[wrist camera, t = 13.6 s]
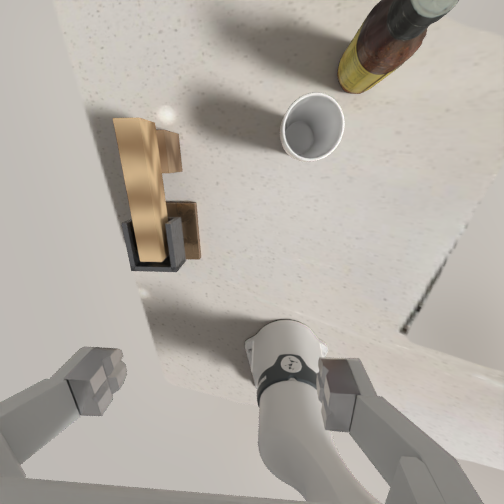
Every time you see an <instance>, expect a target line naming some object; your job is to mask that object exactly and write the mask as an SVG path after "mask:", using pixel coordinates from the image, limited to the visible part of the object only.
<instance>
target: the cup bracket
mask: <svg viewBox="0 0 504 504" xmlns="http://www.w3.org/2000/svg"><path fill="white" fill-rule="evenodd" d="M166 208H167V215H168V222H167V223H166V224H165V226H166V233H167V240H168V248H169V255H168V256H167V257H166V258H165V259H164V260H163V261H162V262H140V258H139V253H138V248H137V242H136V237H135V232H134V227H133V222H132V219H130V220H128V221H126V222H123V223H122V228H123V233H124V238H125V243H126V247H127V252H128V257H129V262H130V266H131V271H156V272H177V271H178V270H179V269H180V267H181V266H182V265H183V264H184V263H185V261H186V259H200V258H201V250H200V238H199V227H198V216H197V205H196V203H191V202H166Z"/></svg>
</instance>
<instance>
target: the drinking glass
mask: <svg viewBox="0 0 504 504" xmlns="http://www.w3.org/2000/svg"><path fill="white" fill-rule="evenodd" d="M343 132H344V115H343V112H342V109H341V107H340V105H339V104H338V103H337V101H336V100H335V99H334V98H332V97H331V96H329V95H327V94H324V93H320V92H313V93H308V94H305V95H303V96H301V97H299V98H298V99H297V100H295V101H294V102H293V103H292V104H291V106H290V107H289V108H288V110H287V111H286V113H285V115H284V117H283V120H282V123H281V127H280V140H281V144H282V146H283V148H284V150H285V152H286V153H287V154H288V155H289V156H290V157H292V158H294V159H296V160H298V161H303V162H311V161H316V160H320V159H322V158H324V157H326V156H328V155H329V154H330V153H331V152H333V150H334V149H335V148H336V147H337V146H338V144H339V142H340V140H341V138H342V135H343Z"/></svg>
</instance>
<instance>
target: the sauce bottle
mask: <svg viewBox="0 0 504 504" xmlns="http://www.w3.org/2000/svg"><path fill="white" fill-rule="evenodd" d="M458 1H459V0H381V1H380V2H379V3H378V4H377V5H376V6H375V7H374V8H373V9H372V10H371V12H370V13H369V15H368V16H367V18H366V19H365V21H364V22H363V24H362V26H361V27H360V29H359V30H358V32H357V33H356V35H355V37H354V38H353V40H352V41H351V43H350V44H349V46H348V48H347V49H346V51H345V52H344V54H343V56H342V58H341V60H340V63H339V68H338V74H337V76H338V80H339V83H340V85H341V87H342V88H343V90H344V91H346V92H348V93H353V94H360V93H362V92H364V91H367V90H369V89H370V88H372V87H373V86H374V85H376V84H377V83H379V82H380V81H381V80H383V79H384V78H385V77H387V76H388V75H389V74H391V73H392V72H393V71H395V70H396V69H397V68H399V67H400V66H401V65H402V64H403V63H404V62H405V61H406V60H408V59H409V58H410V57H411V56H412V55H413V54H414V53H415V52H416V51H417V50H418V48H419V47H420V46H421V44H422V41H423V39H424V37H425V36H426V32H427V28H428V26H429V25H430V24H432V23H434V22H436V21H438V20H439V19H441V18H442V17H443V16H444V15H446V14H447V13H448V12H449V11H450V10H451V9H452V8H453V7H454V6H455V5H456V4H457V2H458Z"/></svg>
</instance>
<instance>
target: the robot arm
mask: <svg viewBox="0 0 504 504" xmlns="http://www.w3.org/2000/svg"><path fill="white" fill-rule="evenodd" d="M245 350H246V353H247V357H248V361H249V364H250V368H251V372H252V376H253V379H254V383H255V387H256V389H257V402H258V406H259V430H258V447H259V453H260V456H261V458H262V460H263V462H264V464H265V465H266V467H267V468H268V469H269V470H270V472H272V473H273V474H274V475H275V476H276V477H277V478H278V479H280V480H281V481H283V482H285V483H286V484H288V485H290V486H292V487H293V488H295V489H296V490H297V491H298V492H299V493H300V494H301V495H302V496H303V497H304V498H305V500H306V501H305V502H304V501H294V500H282V499H269V498H258V497H246V496H233V495H222V494H210V493H197V492H186V491H174V490H162V489H150V488H138V487H125V486H113V485H101V484H89V483H77V482H65V481H52V480H41V479H28V478H25V477H26V476H25V473H24V471H23V469H22V468H21V466H20V465H21V464H22V463H23V462H24V461H26V460H27V459H28V458H29V457H31V456H32V455H33V454H34V453H35V452H37V451H38V450H39V449H41V448H42V447H43V446H44V445H46V444H47V443H48V442H49V441H51V440H52V439H53V438H54V437H56V436H57V435H58V434H59V433H60V432H62V431H63V430H64V429H66V428H67V427H68V426H69V425H71V424H72V423H73V422H74V421H75V420H77V419H78V418H79V417H80V415H84V416H102V415H103V413H104V412H105V411H106V409H107V408H108V406H109V404H110V403H111V402H112V400H113V393H115V392H116V391H118V390H119V389H120V388H121V386H122V385H123V383H124V381H125V378H126V372H127V371H126V365H125V363H124V362H122V361H121V359H122V357H123V353H122V351H121V350H120V349H113V348H99V347H83V348H81V349H79V350H78V351H77V352H76V353H75V354H74V355H73V356H72V357H71V358H70V359H69V360H68V361H67V362H66V363H65V364H64V365H63V366H62V367H61V368H60V369H59V370H58V371H57V372H56V373H55V374H54V375H53V376H52V377H51V378H50V379H44V380H42V381H40V382H38V383H36V384H35V385H33V386H31V387H29V388H27V389H25V390H23V391H21V392H20V393H17V394H15V395H14V396H12V397H10V398H8V399H6V400H4V401H2V402H0V504H382V503H381V502H379V501H378V500H377V499H376V498H374V497H373V496H372V495H371V494H370V493H369V492H368V491H367V490H366V489H365V488H364V487H363V486H362V485H361V484H360V482H359V481H358V480H357V479H356V478H355V477H354V475H353V474H352V473H351V471H350V470H349V469H348V467H347V466H346V465H345V463H344V461H343V459H342V458H341V456H340V454H339V452H338V450H337V448H336V445H335V443H334V440H333V437H332V434H331V431H340V432H341V431H342V432H350V433H349V434H350V435H351V436H352V438H353V439H354V440H355V442H356V443H357V444H358V446H359V447H360V448H361V449H362V451H363V452H364V453H365V455H366V456H367V457H368V458H369V460H370V461H371V462H372V464H373V465H374V466H375V468H376V469H377V470H378V472H379V473H380V474H381V475H382V477H383V478H384V479H385V481H386V482H387V483H388V485H389V486H390V491H389V493H388V496H387V499H386V503H385V504H484V503H483V502H482V500H481V498H480V497H479V495H478V494H477V492H476V490H475V489H474V487H473V486H472V484H471V482H470V481H469V479H468V478H467V476H466V474H465V473H464V471H463V470H462V468H461V467H460V465H459V463H458V462H457V460H456V459H455V458H454V457H453V456H452V455H451V454H449V453H448V452H447V451H446V450H445V449H443V448H442V447H441V446H440V445H439V444H437V443H436V442H435V441H434V440H433V439H432V438H430V437H429V436H428V435H427V434H426V433H424V432H423V431H422V430H421V429H420V428H419V427H417V426H416V425H415V424H414V423H413V422H411V421H410V420H409V419H408V418H407V417H406V416H404V415H403V414H402V413H401V412H400V411H398V410H397V409H396V408H395V407H394V406H392V405H391V404H390V403H389V402H388V401H387V400H385V399H384V398H383V397H380V396H377V394H376V392H375V389H374V387H373V385H372V383H371V381H370V379H369V377H368V375H367V372H366V370H365V368H364V366H363V364H362V362H361V360H360V359H359V358H328V357H326V354H327V352H328V346H327V344H326V343H325V342H323V341H321V340H320V339H318V338H317V337H316V335H315V334H314V333H313V331H312V330H311V329H310V328H309V327H307V326H306V325H304V324H302V323H300V322H297V321H292V320H279V321H275V322H272V323H269V324H267V325H266V326H264V327H263V328H262V329H261V330H260V331H259V332H258V333H257V334H256V335H255V336H254V337H252V338H250V339H248V340H246V341H245Z"/></svg>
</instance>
